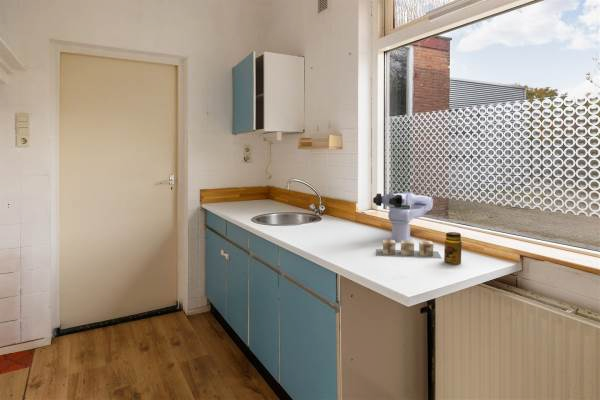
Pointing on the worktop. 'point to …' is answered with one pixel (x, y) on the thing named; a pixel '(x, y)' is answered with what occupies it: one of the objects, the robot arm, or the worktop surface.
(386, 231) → the worktop surface
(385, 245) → the block one
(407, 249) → the plain block
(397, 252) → the slate mat
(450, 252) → the condiment
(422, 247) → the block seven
